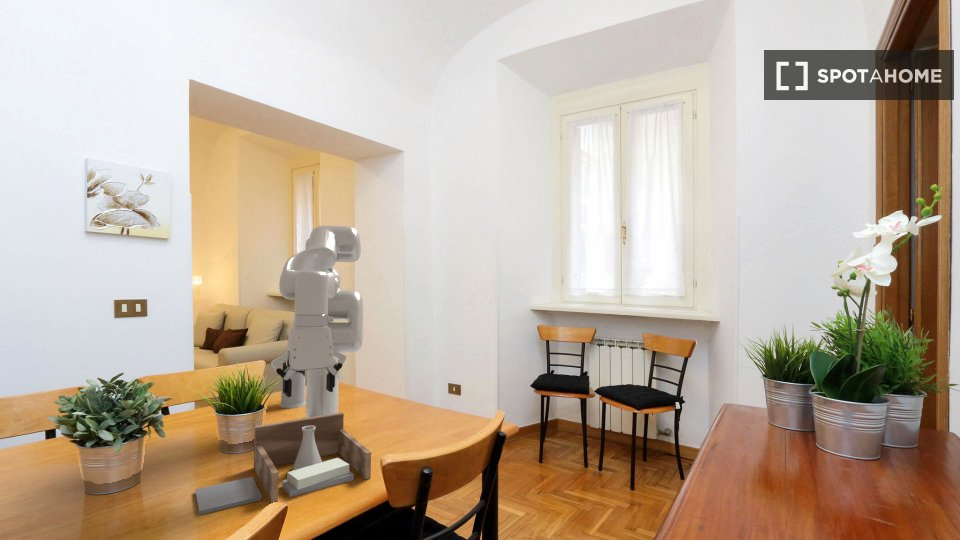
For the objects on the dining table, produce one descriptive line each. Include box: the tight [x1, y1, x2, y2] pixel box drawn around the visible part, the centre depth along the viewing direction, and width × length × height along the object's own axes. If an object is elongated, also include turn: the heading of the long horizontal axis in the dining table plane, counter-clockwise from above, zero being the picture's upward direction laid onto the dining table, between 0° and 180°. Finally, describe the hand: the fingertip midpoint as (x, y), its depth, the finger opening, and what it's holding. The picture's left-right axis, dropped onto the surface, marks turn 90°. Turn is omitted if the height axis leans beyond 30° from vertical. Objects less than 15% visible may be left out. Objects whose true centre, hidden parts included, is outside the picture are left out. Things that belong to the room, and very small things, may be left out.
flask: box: [291, 426, 323, 471], centre depth 111 cm, size 7×7×10 cm
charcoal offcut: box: [281, 469, 355, 498], centre depth 103 cm, size 6×14×2 cm, turn 128°
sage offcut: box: [286, 457, 350, 490], centre depth 103 cm, size 5×12×2 cm, turn 136°
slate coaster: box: [194, 476, 263, 516], centre depth 96 cm, size 11×11×1 cm
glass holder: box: [279, 361, 306, 409], centre depth 168 cm, size 9×14×15 cm, turn 25°
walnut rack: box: [253, 412, 372, 504], centre depth 109 cm, size 21×21×10 cm
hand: (309, 393), depth 111 cm, fingers open, 9 cm apart
